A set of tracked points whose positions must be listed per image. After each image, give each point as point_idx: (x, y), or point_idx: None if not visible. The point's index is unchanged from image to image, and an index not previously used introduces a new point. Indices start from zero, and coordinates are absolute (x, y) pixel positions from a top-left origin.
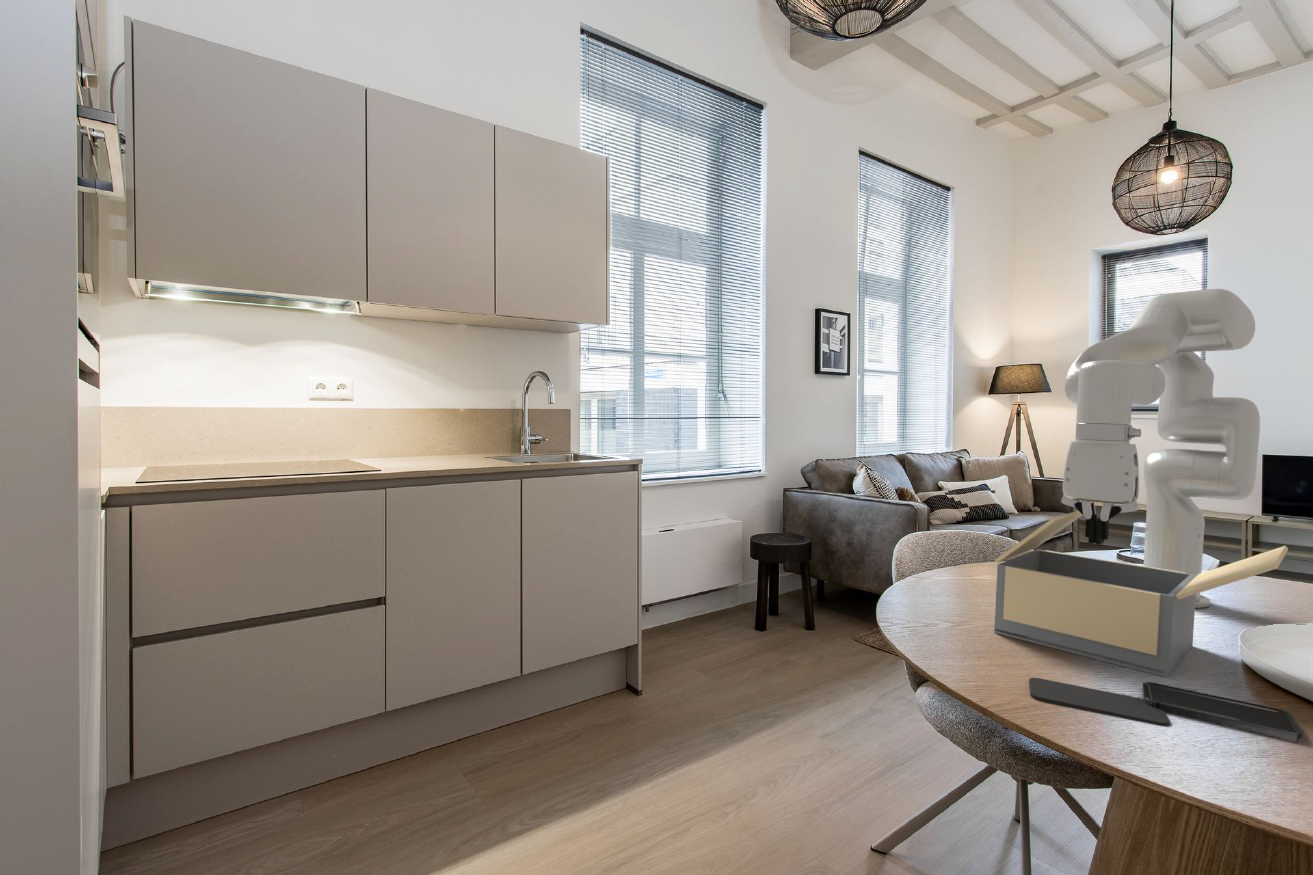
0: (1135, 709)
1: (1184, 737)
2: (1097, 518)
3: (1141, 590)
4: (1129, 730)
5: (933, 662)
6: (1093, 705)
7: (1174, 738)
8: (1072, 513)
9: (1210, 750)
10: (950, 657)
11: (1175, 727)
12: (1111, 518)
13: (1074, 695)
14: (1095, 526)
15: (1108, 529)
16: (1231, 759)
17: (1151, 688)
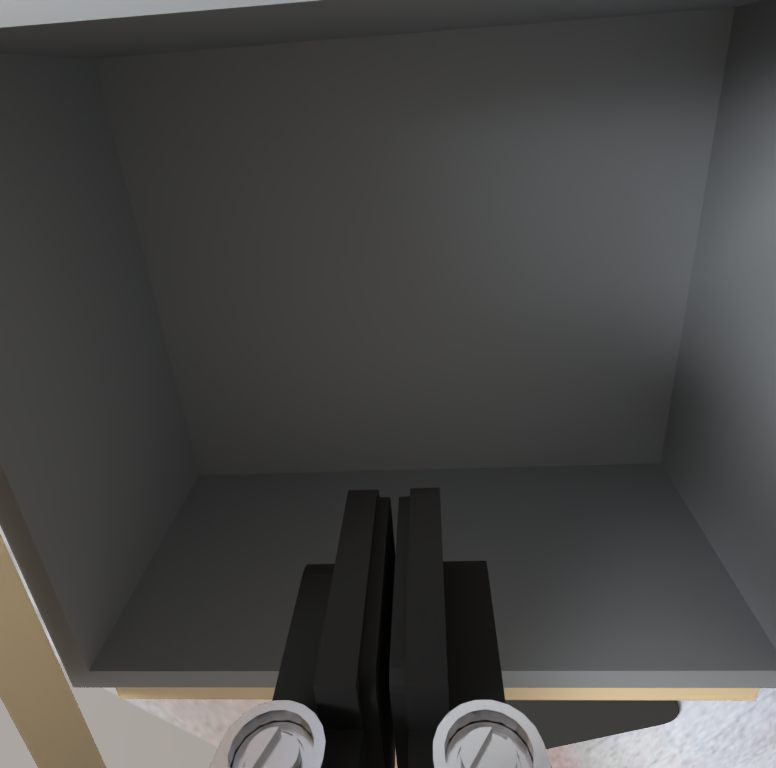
0: (620, 705)
1: (700, 735)
2: (357, 704)
3: (683, 681)
4: (618, 764)
5: None
6: (553, 736)
7: (685, 747)
8: (56, 755)
9: (737, 750)
10: (248, 700)
11: (686, 711)
12: (530, 722)
13: None
14: (392, 724)
15: (495, 636)
16: (765, 756)
17: None
